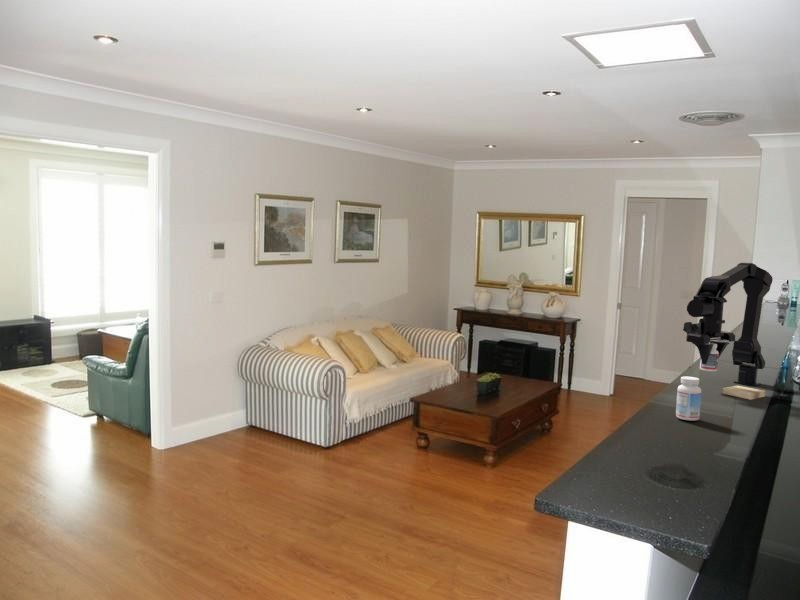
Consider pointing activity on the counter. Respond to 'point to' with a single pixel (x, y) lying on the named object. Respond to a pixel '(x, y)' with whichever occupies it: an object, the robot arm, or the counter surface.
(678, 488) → the counter surface
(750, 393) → the maple block
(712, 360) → the pill bottle
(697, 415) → the pill bottle
